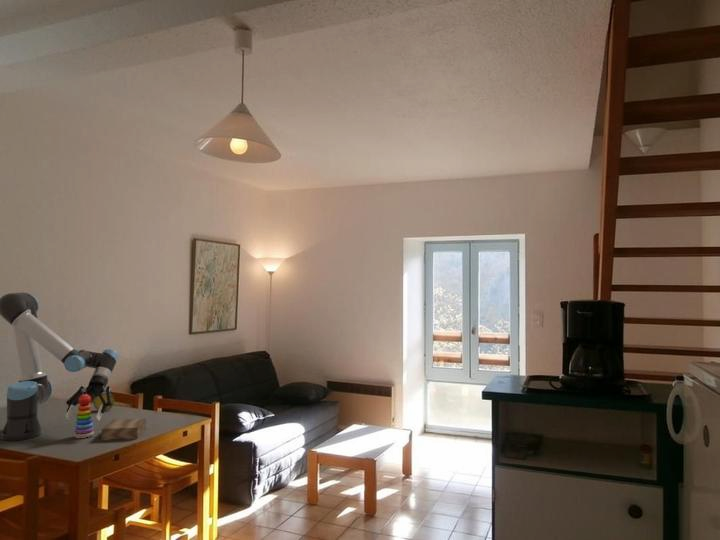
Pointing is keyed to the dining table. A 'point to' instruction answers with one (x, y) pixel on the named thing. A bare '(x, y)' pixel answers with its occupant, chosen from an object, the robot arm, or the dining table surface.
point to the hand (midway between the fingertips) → (82, 419)
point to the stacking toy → (84, 418)
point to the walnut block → (123, 429)
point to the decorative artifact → (98, 402)
